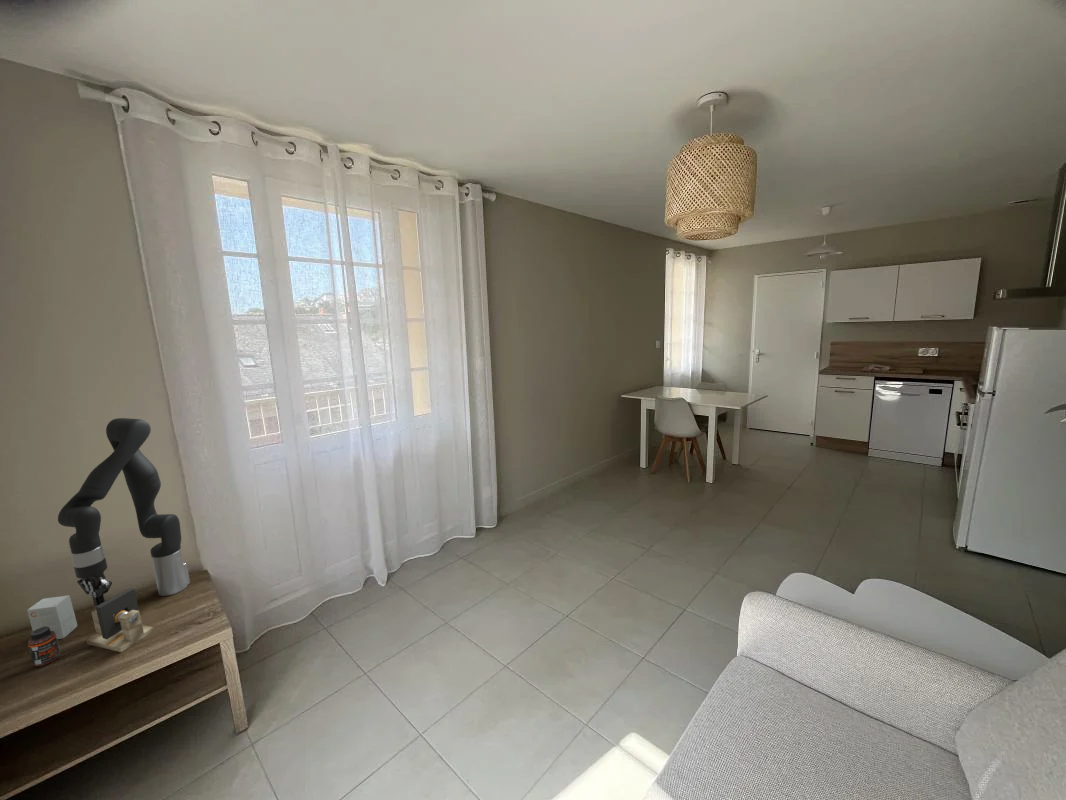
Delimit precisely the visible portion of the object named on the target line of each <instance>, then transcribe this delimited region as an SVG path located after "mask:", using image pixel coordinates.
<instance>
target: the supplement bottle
mask: <svg viewBox="0 0 1066 800" xmlns="http://www.w3.org/2000/svg"><path fill="white" fill-rule="evenodd" d="M27 646H28V650H29V651H28V652H29V655H30V658H31V663H32V665H33V667H42V666H46V665H49V664H50V663H53V662H54V661H55V660H57V659H58V658H59V657H60V656H61V652H60V646H59V642H58V639H57V637H56V634H55V632H54V631H50V628H49V627H48V626H45V627H41V628H38V629H36V630H34V631H33V630H32V632H30V638H29V640H28V642H27Z"/></svg>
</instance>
